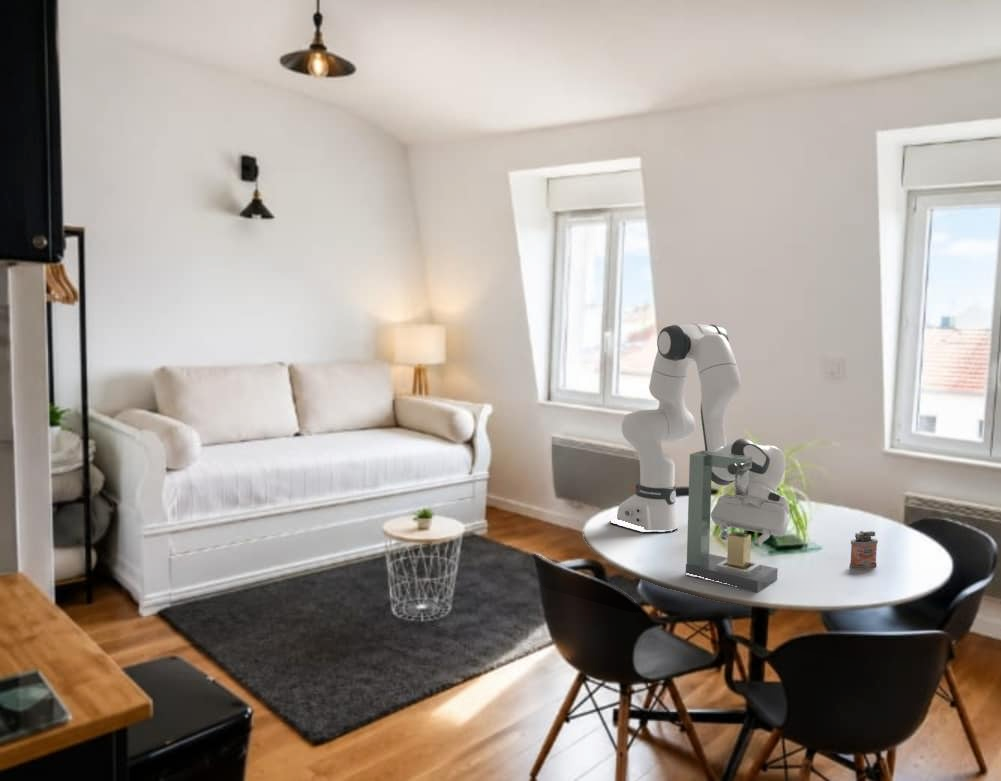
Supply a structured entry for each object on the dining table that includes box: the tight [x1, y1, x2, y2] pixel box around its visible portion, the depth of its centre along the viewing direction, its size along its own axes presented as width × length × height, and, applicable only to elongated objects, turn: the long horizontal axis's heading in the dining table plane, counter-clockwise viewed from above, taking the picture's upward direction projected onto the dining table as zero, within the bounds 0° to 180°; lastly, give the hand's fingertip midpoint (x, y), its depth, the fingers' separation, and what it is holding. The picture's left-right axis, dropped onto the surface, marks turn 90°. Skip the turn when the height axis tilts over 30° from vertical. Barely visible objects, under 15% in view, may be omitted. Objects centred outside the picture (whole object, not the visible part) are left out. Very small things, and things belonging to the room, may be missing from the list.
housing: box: [726, 531, 752, 570], centre depth 214 cm, size 4×4×9 cm
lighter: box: [849, 530, 879, 570], centre depth 225 cm, size 8×3×10 cm, turn 106°
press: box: [685, 450, 779, 593], centre depth 212 cm, size 20×18×33 cm
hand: (740, 541), depth 214 cm, fingers open, 8 cm apart
